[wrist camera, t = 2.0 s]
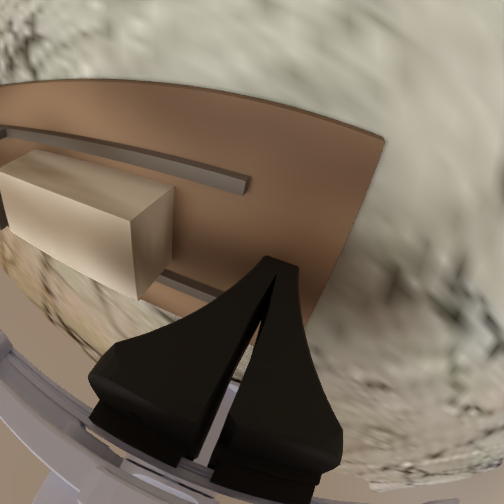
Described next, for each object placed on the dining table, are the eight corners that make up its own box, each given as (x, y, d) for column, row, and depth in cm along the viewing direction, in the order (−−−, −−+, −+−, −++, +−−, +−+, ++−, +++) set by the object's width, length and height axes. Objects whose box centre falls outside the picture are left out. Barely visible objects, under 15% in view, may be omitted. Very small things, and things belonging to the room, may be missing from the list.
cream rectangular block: (171, 260, 14) (137, 301, 12) (44, 207, 15) (10, 231, 13) (174, 185, 12) (130, 221, 9) (35, 149, 13) (-5, 170, 10)
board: (291, 346, 16) (276, 395, 14) (6, 217, 20) (-20, 236, 17) (382, 137, 9) (396, 164, 6) (-13, 87, 12) (-47, 101, 10)
